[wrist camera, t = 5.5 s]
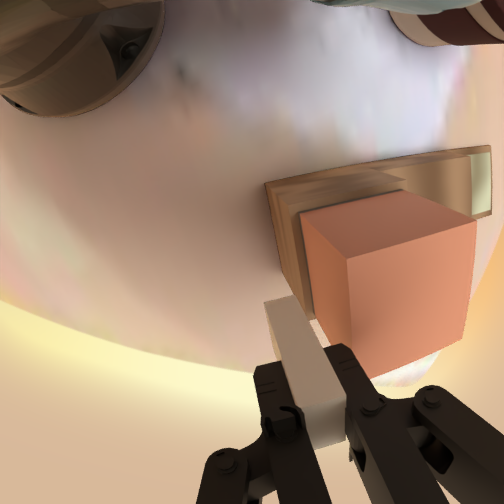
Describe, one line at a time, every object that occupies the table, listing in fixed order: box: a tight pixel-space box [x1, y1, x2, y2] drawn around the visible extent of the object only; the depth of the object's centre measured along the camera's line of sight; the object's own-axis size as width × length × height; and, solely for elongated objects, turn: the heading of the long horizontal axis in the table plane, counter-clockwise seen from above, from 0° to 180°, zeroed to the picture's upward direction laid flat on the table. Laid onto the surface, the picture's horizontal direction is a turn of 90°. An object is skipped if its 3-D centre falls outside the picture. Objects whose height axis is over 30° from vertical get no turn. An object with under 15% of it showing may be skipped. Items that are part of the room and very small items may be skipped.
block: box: [298, 189, 477, 379], centre depth 16 cm, size 7×7×7 cm
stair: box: [265, 145, 492, 321], centre depth 24 cm, size 26×8×8 cm, turn 102°
